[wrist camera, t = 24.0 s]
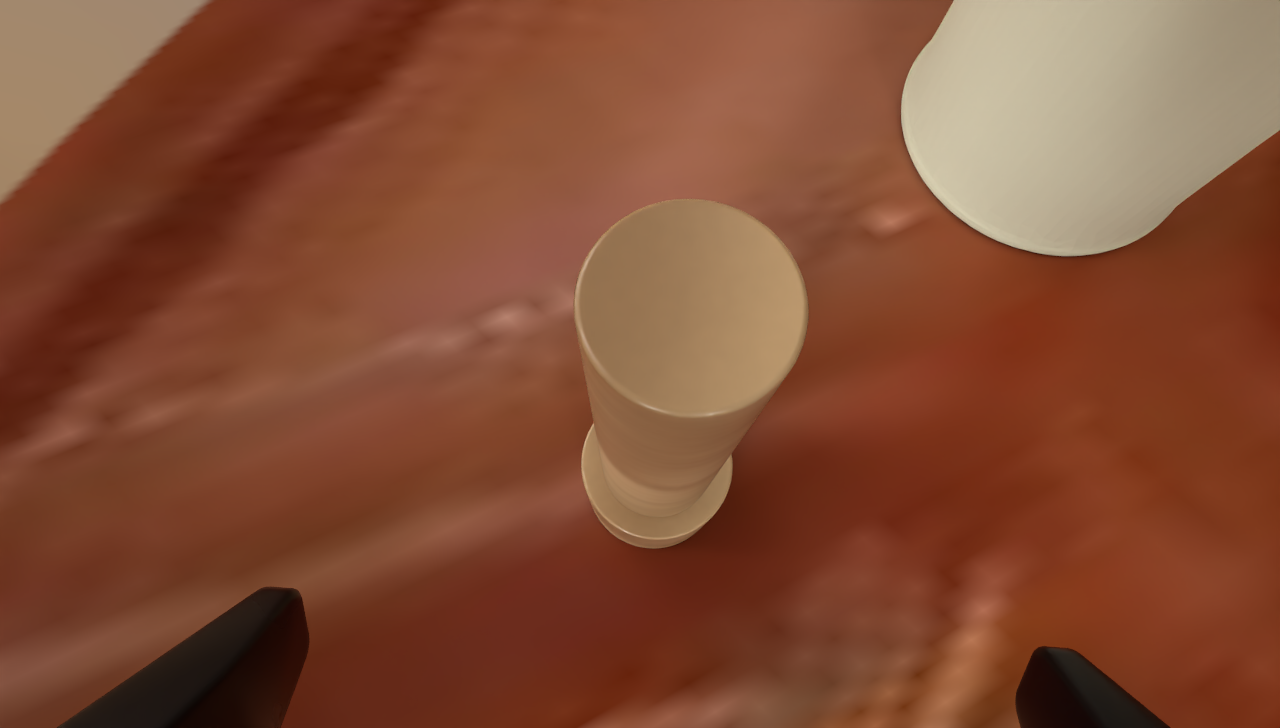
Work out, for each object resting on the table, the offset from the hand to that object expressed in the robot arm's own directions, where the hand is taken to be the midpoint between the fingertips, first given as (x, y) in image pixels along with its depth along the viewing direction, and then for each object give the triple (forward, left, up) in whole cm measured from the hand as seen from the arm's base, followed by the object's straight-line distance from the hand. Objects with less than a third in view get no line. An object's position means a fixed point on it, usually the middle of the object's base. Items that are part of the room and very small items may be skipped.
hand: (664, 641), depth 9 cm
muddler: (0, -4, -11) cm, 11 cm away
